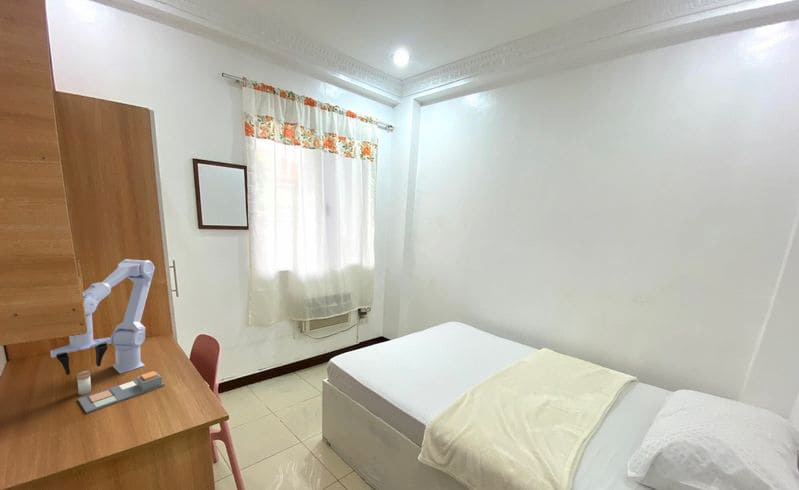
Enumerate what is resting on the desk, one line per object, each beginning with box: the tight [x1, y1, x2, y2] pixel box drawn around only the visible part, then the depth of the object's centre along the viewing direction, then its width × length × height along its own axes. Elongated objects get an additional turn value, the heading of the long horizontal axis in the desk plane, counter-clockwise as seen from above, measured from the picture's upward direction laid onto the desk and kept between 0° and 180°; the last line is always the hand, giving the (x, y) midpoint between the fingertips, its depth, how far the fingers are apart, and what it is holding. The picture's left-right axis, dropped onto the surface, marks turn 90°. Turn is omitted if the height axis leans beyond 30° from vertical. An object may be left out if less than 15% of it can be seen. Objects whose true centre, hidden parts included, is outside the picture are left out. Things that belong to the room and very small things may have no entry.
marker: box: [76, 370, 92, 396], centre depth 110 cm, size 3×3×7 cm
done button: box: [140, 370, 157, 381], centre depth 116 cm, size 4×4×2 cm
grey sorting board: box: [77, 371, 165, 414], centre depth 112 cm, size 11×21×4 cm, turn 145°
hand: (83, 369), depth 110 cm, fingers open, 7 cm apart
